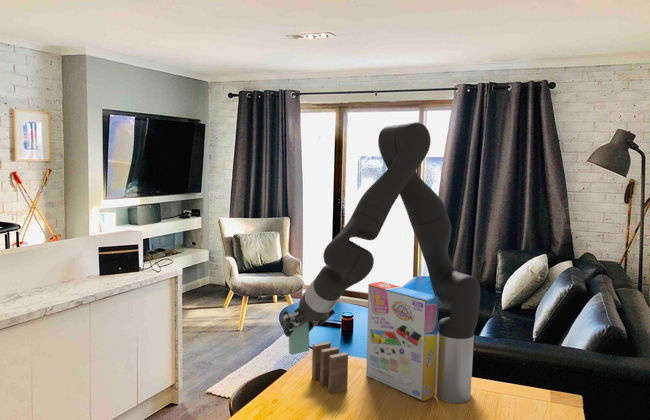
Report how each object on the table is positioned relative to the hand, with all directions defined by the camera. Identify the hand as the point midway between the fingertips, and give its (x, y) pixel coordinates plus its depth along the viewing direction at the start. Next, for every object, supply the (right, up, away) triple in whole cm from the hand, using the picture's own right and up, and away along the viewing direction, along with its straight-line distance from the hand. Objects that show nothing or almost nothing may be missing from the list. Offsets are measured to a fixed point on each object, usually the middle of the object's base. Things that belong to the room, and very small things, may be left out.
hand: (296, 331), depth 134 cm
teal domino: (+1, -5, 0) cm, 5 cm away
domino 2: (+8, -17, +11) cm, 22 cm away
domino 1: (+6, -16, +14) cm, 23 cm away
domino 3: (+11, -17, +7) cm, 22 cm away
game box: (+28, -18, +10) cm, 35 cm away
